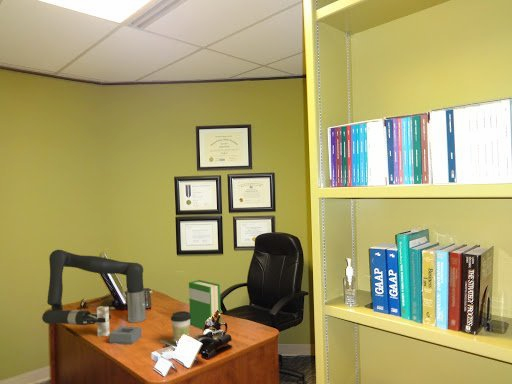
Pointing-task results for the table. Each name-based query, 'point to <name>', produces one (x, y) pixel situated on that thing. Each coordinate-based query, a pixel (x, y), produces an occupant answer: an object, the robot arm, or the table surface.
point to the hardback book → (203, 302)
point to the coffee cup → (180, 324)
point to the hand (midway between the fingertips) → (107, 318)
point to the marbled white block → (104, 327)
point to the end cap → (125, 335)
